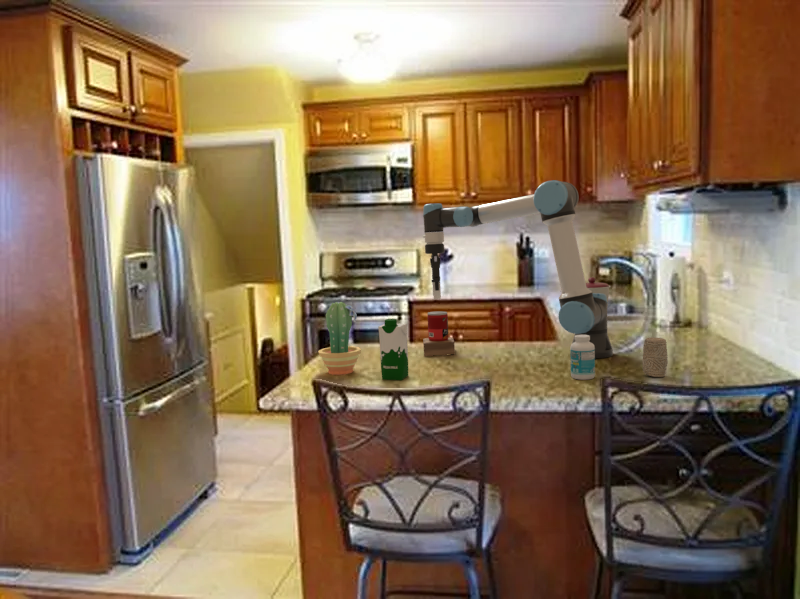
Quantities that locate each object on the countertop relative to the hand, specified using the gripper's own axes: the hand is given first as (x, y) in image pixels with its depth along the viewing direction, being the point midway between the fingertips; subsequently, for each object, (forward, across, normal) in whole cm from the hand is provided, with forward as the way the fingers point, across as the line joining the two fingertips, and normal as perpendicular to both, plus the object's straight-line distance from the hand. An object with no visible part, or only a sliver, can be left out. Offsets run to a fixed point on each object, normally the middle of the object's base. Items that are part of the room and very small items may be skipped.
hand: (436, 297), depth 262 cm
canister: (+23, -78, +81) cm, 115 cm away
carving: (+23, +55, +66) cm, 89 cm away
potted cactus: (+22, +29, -36) cm, 51 cm away
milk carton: (+22, +42, -16) cm, 50 cm away
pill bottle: (+23, +53, +44) cm, 72 cm away
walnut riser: (+22, 0, 0) cm, 22 cm away
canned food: (+17, 0, 0) cm, 17 cm away
